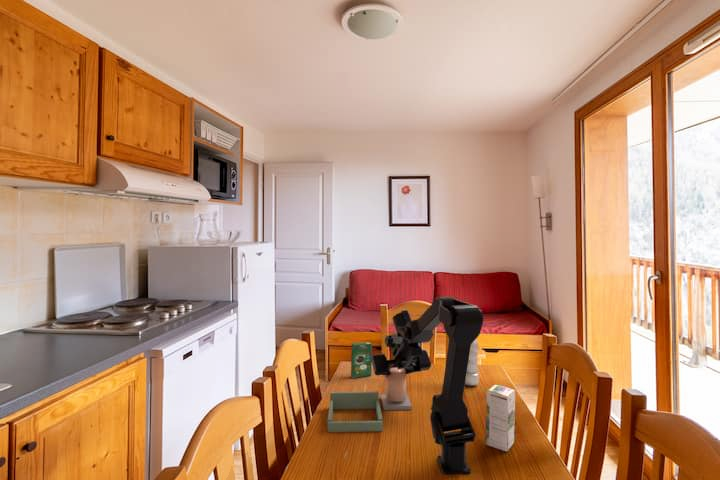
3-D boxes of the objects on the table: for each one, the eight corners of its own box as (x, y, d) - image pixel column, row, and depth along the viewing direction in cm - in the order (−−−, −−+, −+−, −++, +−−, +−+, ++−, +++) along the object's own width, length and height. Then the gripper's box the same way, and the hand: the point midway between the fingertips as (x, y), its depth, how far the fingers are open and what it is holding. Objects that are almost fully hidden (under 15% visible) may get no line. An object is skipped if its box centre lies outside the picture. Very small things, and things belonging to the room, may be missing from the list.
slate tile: (411, 409, 120) (411, 405, 120) (383, 409, 120) (383, 406, 120) (407, 397, 129) (407, 394, 129) (381, 398, 129) (381, 394, 129)
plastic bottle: (480, 388, 137) (480, 333, 137) (460, 387, 138) (460, 332, 138) (478, 382, 143) (478, 329, 143) (459, 380, 145) (459, 328, 145)
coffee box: (369, 373, 153) (369, 341, 153) (372, 375, 150) (372, 342, 150) (350, 376, 150) (350, 343, 150) (353, 378, 147) (353, 345, 147)
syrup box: (493, 436, 104) (493, 383, 104) (515, 443, 100) (515, 388, 100) (485, 445, 100) (485, 389, 100) (508, 453, 96) (508, 395, 96)
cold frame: (382, 431, 107) (382, 413, 107) (327, 432, 106) (327, 414, 106) (378, 406, 122) (378, 391, 122) (330, 407, 122) (330, 392, 122)
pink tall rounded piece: (402, 403, 120) (401, 374, 120) (383, 399, 123) (383, 371, 123) (408, 395, 126) (408, 368, 126) (390, 392, 129) (390, 365, 129)
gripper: (427, 325, 123) (412, 350, 134) (372, 329, 118) (362, 354, 129) (438, 356, 116) (422, 380, 126) (381, 362, 111) (369, 386, 121)
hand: (394, 374), depth 126 cm, fingers closed on pink tall rounded piece, 6 cm apart
